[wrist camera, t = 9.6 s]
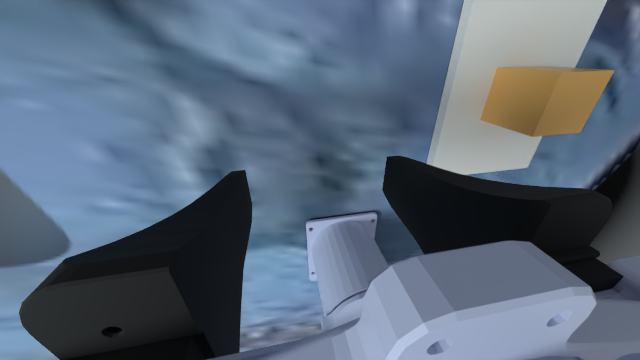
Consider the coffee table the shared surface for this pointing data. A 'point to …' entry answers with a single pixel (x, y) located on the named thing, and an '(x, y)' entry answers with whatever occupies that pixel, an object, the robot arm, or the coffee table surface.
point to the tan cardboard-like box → (544, 98)
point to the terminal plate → (480, 67)
